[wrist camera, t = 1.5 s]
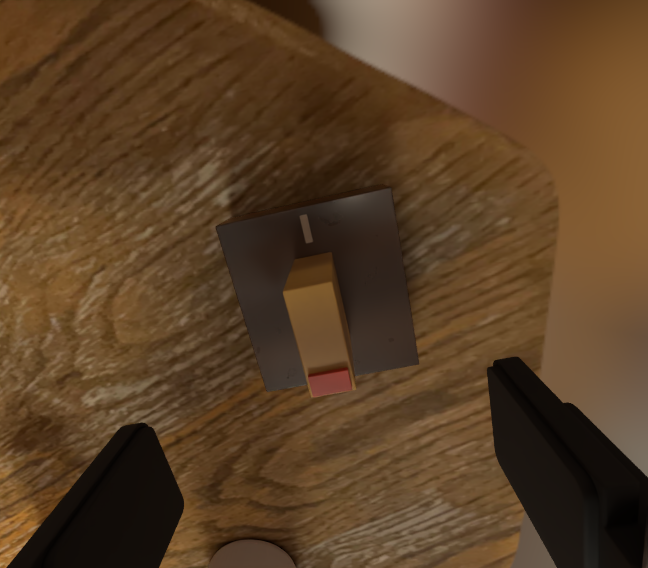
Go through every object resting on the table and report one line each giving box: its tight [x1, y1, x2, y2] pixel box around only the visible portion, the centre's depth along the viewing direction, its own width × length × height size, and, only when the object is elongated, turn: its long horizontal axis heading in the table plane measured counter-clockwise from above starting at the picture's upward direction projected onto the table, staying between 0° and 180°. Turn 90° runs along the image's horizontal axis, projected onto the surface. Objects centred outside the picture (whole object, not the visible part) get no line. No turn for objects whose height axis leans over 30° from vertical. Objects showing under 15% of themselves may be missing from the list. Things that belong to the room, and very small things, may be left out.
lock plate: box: [216, 184, 419, 392], centre depth 21 cm, size 10×9×3 cm
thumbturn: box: [283, 252, 356, 398], centre depth 17 cm, size 5×2×5 cm, turn 12°
